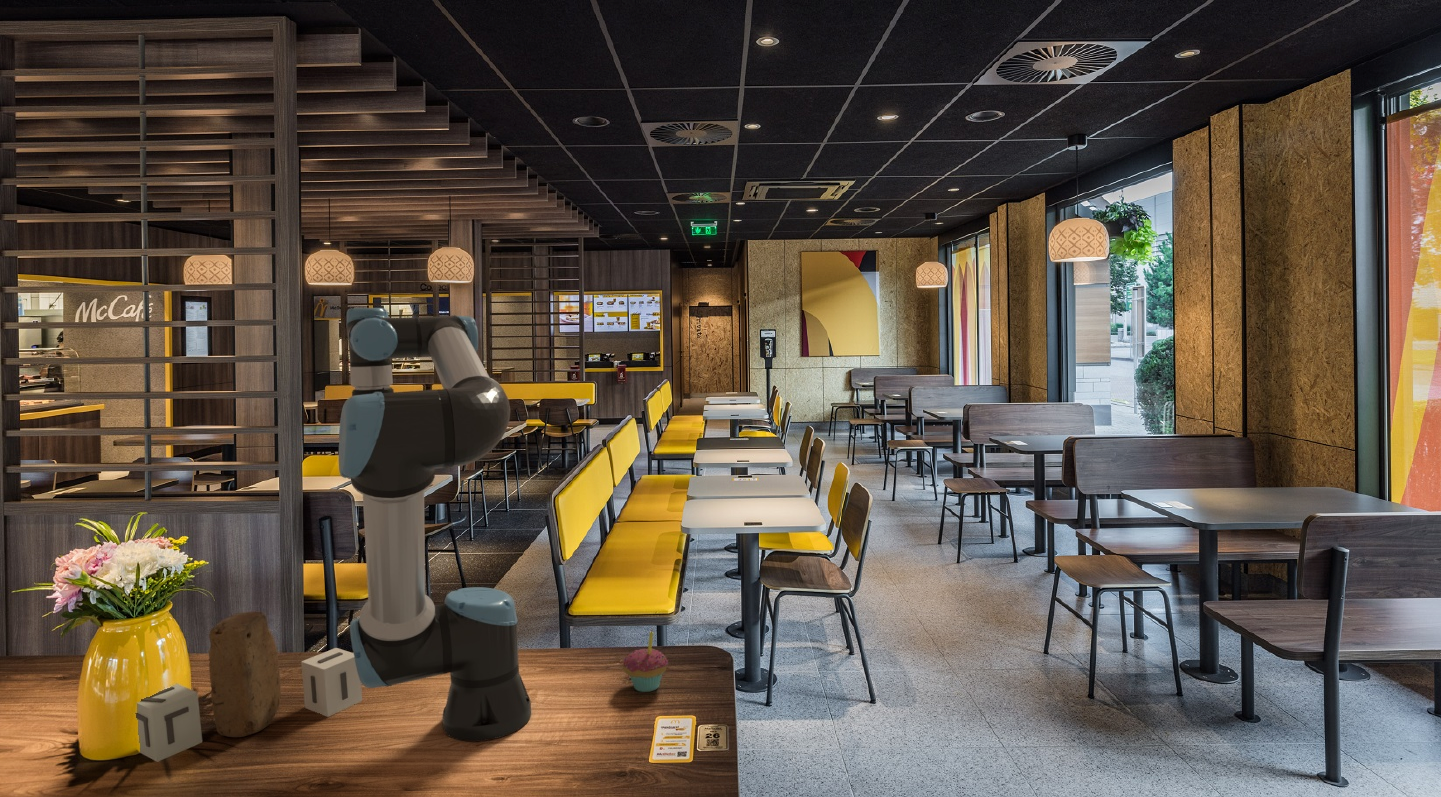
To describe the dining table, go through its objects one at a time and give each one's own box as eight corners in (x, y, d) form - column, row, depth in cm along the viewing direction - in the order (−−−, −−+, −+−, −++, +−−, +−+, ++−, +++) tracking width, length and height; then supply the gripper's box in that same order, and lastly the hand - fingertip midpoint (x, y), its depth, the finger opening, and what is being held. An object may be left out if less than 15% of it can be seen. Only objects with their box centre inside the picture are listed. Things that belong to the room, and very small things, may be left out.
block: (251, 741, 140) (241, 628, 138) (210, 740, 141) (199, 628, 138) (289, 710, 151) (280, 605, 149) (251, 709, 151) (241, 605, 149)
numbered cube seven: (203, 742, 140) (197, 691, 139) (156, 763, 134) (150, 709, 133) (181, 732, 144) (176, 681, 143) (135, 751, 138) (129, 699, 137)
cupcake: (677, 682, 158) (675, 622, 157) (650, 701, 151) (648, 638, 150) (641, 673, 163) (639, 614, 161) (614, 690, 156) (611, 629, 154)
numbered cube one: (363, 701, 154) (359, 653, 153) (327, 718, 148) (323, 668, 147) (339, 692, 158) (336, 646, 156) (303, 708, 151) (299, 660, 150)
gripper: (411, 386, 159) (418, 505, 162) (368, 384, 166) (376, 498, 169) (377, 390, 153) (386, 513, 156) (334, 388, 160) (343, 506, 162)
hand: (381, 505), depth 162 cm, fingers closed
